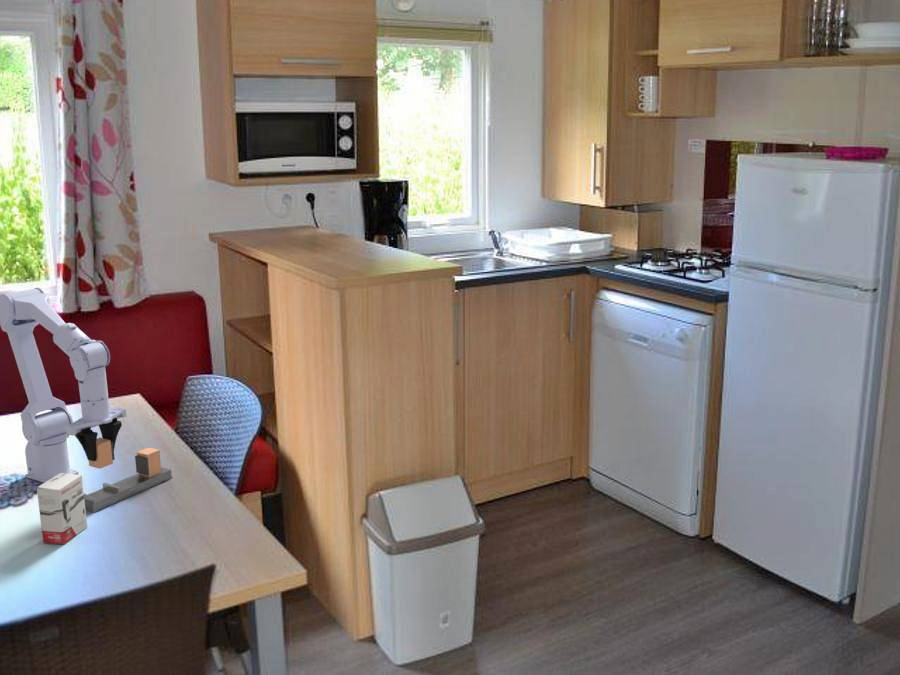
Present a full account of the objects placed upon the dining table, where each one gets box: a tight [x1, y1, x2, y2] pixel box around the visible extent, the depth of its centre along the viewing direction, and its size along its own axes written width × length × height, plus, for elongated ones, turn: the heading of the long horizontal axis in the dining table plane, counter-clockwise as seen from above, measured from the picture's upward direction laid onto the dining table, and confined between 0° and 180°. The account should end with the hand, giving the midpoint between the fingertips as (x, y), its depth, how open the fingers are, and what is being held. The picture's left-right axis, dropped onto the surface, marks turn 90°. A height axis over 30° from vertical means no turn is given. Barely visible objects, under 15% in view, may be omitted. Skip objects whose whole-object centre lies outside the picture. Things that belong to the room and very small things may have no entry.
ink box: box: [36, 473, 88, 545], centre depth 190 cm, size 9×5×12 cm, turn 168°
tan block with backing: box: [88, 437, 116, 470], centre depth 208 cm, size 4×4×6 cm
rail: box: [84, 467, 173, 513], centre depth 211 cm, size 5×22×3 cm, turn 149°
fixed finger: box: [134, 447, 162, 478], centre depth 216 cm, size 4×4×6 cm
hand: (100, 456), depth 208 cm, fingers closed on tan block with backing, 4 cm apart
